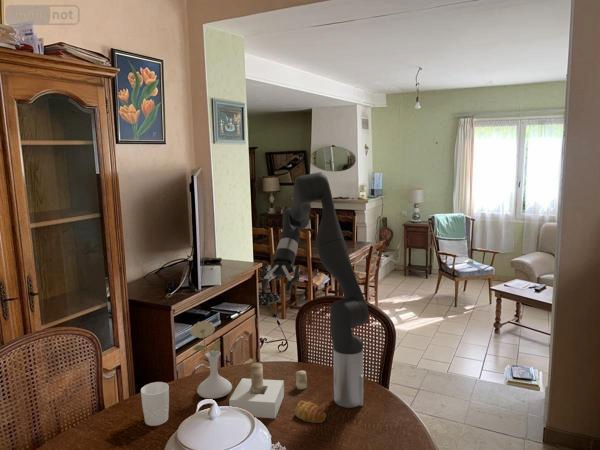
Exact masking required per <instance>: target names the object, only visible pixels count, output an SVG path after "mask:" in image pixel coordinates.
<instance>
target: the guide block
mask: <svg viewBox="0 0 600 450" xmlns="http://www.w3.org/2000/svg"><path fill="white" fill-rule="evenodd" d="M284 396H285V381H284V380H283V379H282V380H280V379H277V380H276V379H264V378H263V394H252V383H251V378H245V377H244V378H241V380H240V381H239V383H238V385H237V386H236V388H235V390H234V391H233V392H232V394H231V396H230V398H229V399H228V400H229V401H228V402H229V405H228V407H229V406H232V407H239V408H242V409H245V410H248V411H249V412H251V413H252V414H253V415H254V416H255V417H254V418H262V419H263V418H264V419H267V418H268V419H276V417H277V415H278V412H279V410H280V407H281V404H282V402H283V399H284Z"/></svg>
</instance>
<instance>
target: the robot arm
mask: <svg viewBox="0 0 600 450" xmlns="http://www.w3.org/2000/svg"><path fill="white" fill-rule="evenodd" d="M319 201H320V202H321V207H322V213H321V214H322V215H321V219H320V224H319V227H318V229H317V232H316V236H315V246H316V249H317V250H316V251H317V253H318V256H319V260H320V262H321V264H322V265H323V267H324V268H325V269H326V271H328V272H329V274H331V276H333V278H334V279H335V281H337V283H338V284H339V286H340V289H341V292H342V294H343V298H342V299H339V300H335V301H333V302H332V303H331V305H330V309H329V324H330V337H331V341H332V345H333V401H334V403H335V404H336V405H337V406H339V407H343V408H350V409H351V408H356V407H363V405H364V342H363V341H364V340H363V339H362V338H361V337H359V336H357V335H353V328H357V327H360V326H363V325H365V324H367V322H368V320H369V308H368V304H367V301H366V299H365V296H364V294H363V292H362V290H361V287H360V284H359V282H358V279H357V277H356V274H355V271H354V268H353V264H352V262H351V258H350V256H349V251H348V248H347V244H346V241H345V237H344V235H343V231H342V229H341V225H340V223H339V219H338V216H337V212H336V208H335V202H334V199H333V195H332V190H331V186H330V182H329V180H328V178H327V175H326V174H325V173H324V172H322V171H321V172H314V173H309V174H303V175H300V176H298V177H296V179H295V181H294V184H293V193H292V204H291V206H290V207H287V208H286V209H285V210H284V211H283V213H282V233H281V237H280V239H279V242H278V244H277V247H276V251H275V254H274V258H273V262H272V264H268V263H266V262H265V263H264V264H263V266H262V269H261V272H260V273H259V277H260V279H261V281H263V282H262V284H261V285H262V286H261V288H262V289H263V291H264V292H267V291H268V287H269V282H271V280H273V279H275V278H282V279H283V278H287V283H286V286H285V289H284V290H285V293H287V294H288V293H290V292H291V291H292V287H293V284H296V283H297V284H299V281H300V277H301V276H300V275H301V270H302V269H301V268H300V265H298V264H297V265H295V266H294V264H295V260H296V257H297V253H298V245H299V243H300V238H301V232H300V230H304V229H305V228H307V227H308V225H309V223H310V215H309V214H310V212H311V209H312V205H311V203H315V202H319ZM298 229H299V230H298ZM292 272H294V275H293V277H292V276H291V275H290V274H291V273H292Z"/></svg>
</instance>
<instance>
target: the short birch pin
mask: <svg viewBox="0 0 600 450" xmlns="http://www.w3.org/2000/svg"><path fill="white" fill-rule="evenodd" d="M307 378H308V377H307V372H306V370H298V371H296V372H295V382H296V385H295V386H296V389H297V390H301V391H302V390H305V389H307V388H308V379H307Z"/></svg>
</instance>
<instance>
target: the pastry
mask: <svg viewBox="0 0 600 450" xmlns="http://www.w3.org/2000/svg"><path fill="white" fill-rule="evenodd" d="M294 415H295V416H296V417H297V419H300V420H301V421H304V422H309V423H313V424H319V423H320V424H321V423H323V422H324V421H325V420H326V417H327V413H326V412H325V411H324V409H323V408H321V407H320V406H319V405H317V404H316V403H315V402H311V401H305V400H301V401H299V402H298V404H297V405H296V406H295V409H294Z"/></svg>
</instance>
